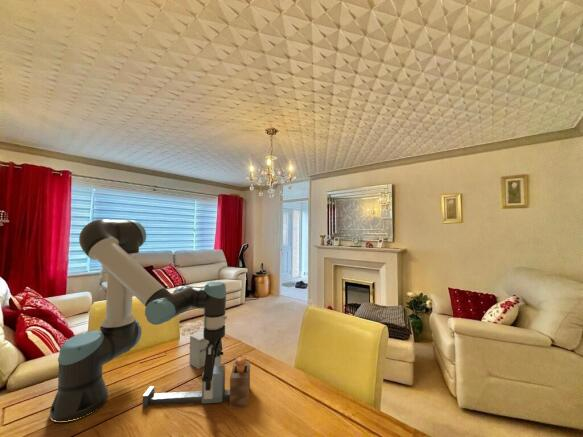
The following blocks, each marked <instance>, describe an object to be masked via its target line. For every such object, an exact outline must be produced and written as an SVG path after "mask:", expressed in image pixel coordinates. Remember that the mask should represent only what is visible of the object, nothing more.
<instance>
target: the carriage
mask: <svg viewBox="0 0 583 437" xmlns="http://www.w3.org/2000/svg"><path fill="white" fill-rule="evenodd" d="M203 374H204V371H203V372H202V375H201V391H202V402H201V404H213V403H214V404H215V403H217V404H218V403H223V402H224V401H223V392H224V390H226V365H221V366H214V370H213V398H212V399H204V382H203V380H202V378H203Z"/></svg>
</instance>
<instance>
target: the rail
mask: <svg viewBox="0 0 583 437" xmlns="http://www.w3.org/2000/svg"><path fill="white" fill-rule="evenodd" d="M226 401H229V402H230V388H228V389H225V390H224V392H223V401H222V402H226ZM193 403H196V404H197V403H202V390H196V391H195V390H194V391H193V390H192V391H177V392H159V393H157V392H156V393H155V385H150V386H149V387H148V388H147V390H146V391H145V392H144V394H143V395H142V408H144V409H145V408H149V406H157V405H158V406H161V405H176V404H193Z"/></svg>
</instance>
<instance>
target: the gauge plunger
mask: <svg viewBox="0 0 583 437" xmlns="http://www.w3.org/2000/svg"><path fill="white" fill-rule="evenodd" d="M234 362H235V363H236V364H237V373H245V363H246V362H247V358H246V357H245V356H238V357H236V358H235V361H234Z"/></svg>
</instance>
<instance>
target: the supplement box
mask: <svg viewBox="0 0 583 437" xmlns="http://www.w3.org/2000/svg"><path fill="white" fill-rule="evenodd" d="M203 334H204V330H202V331H199V332H196V333H195V334H191V335H190V336H189V365H191V366H193V367H194V368H196V369H197V370H199V369H201V368H203V367H204V366H205V358H206V348H207V345H208V343H209V341H208V340H206V339H204V337H203Z"/></svg>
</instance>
